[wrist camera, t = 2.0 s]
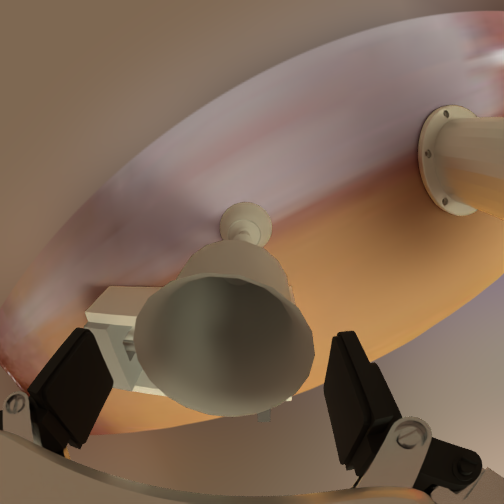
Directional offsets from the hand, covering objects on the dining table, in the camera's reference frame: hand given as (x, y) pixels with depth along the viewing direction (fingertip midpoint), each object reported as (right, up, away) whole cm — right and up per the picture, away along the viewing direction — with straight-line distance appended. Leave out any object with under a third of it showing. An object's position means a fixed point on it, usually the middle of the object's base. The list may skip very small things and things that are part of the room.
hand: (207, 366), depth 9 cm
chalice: (+1, +7, +17) cm, 18 cm away
